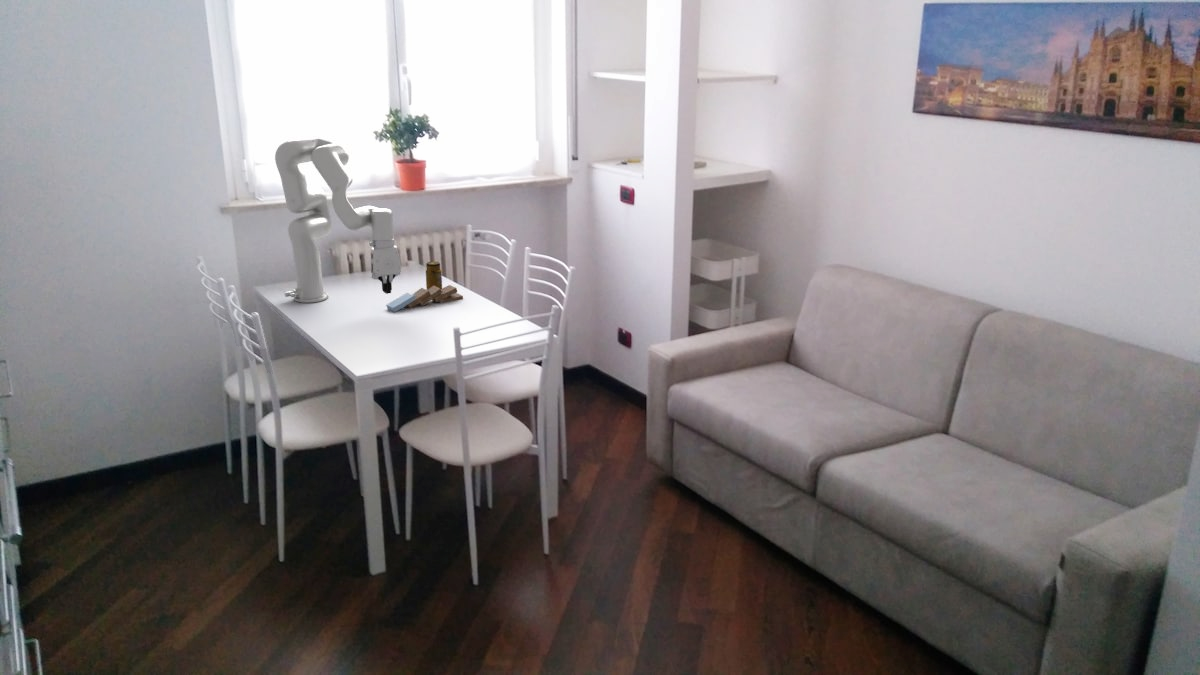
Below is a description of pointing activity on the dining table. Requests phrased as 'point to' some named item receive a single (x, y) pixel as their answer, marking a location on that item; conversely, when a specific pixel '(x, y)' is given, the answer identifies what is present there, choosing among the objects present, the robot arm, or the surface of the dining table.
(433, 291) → the domino
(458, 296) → the domino
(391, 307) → the domino
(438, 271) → the condiment
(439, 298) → the domino
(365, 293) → the dining table surface
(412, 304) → the domino
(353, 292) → the dining table surface
